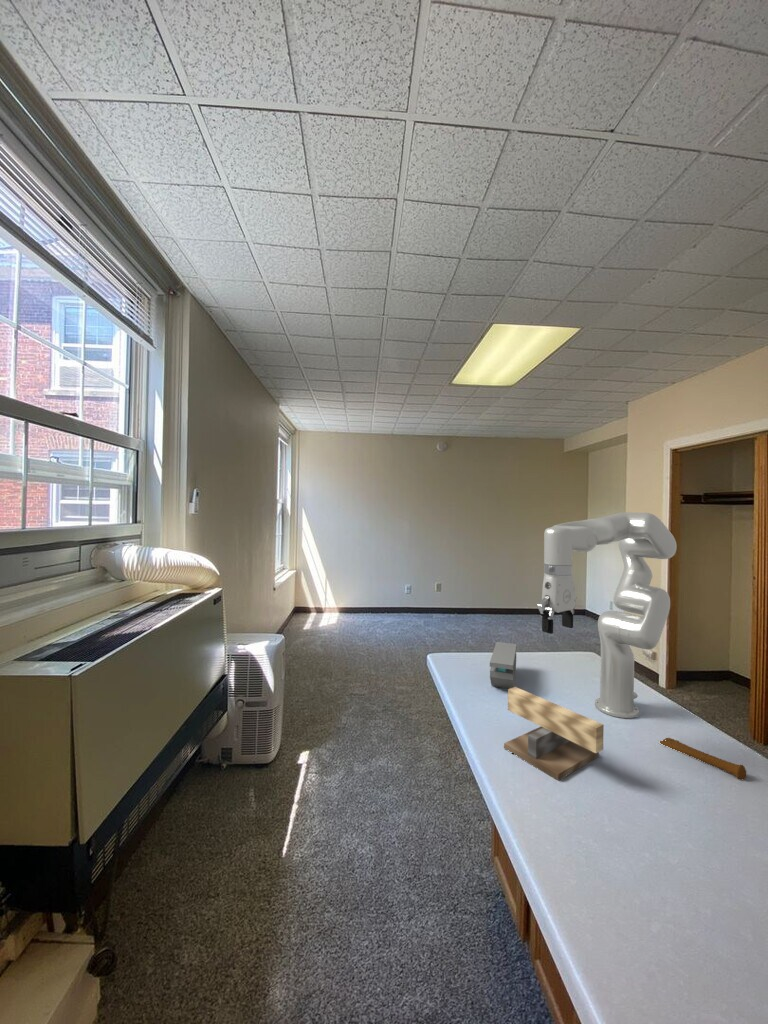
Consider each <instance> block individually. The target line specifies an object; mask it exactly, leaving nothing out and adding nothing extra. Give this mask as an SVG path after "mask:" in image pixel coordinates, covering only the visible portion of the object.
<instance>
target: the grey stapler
mask: <svg viewBox="0 0 768 1024" xmlns="http://www.w3.org/2000/svg"><path fill="white" fill-rule="evenodd" d="M516 652H517V644H516V643H512V642H511V643H509V642H502V641H496V642H495V645H494V649H493V652H492V654H491V658H490V661H489V667H490V669H489V679H490V684H491V687H496V688H502V689H503V688H504V689H510V688H513V687H515V684H516V683H515V682H516V674H517V653H516Z"/></svg>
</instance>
